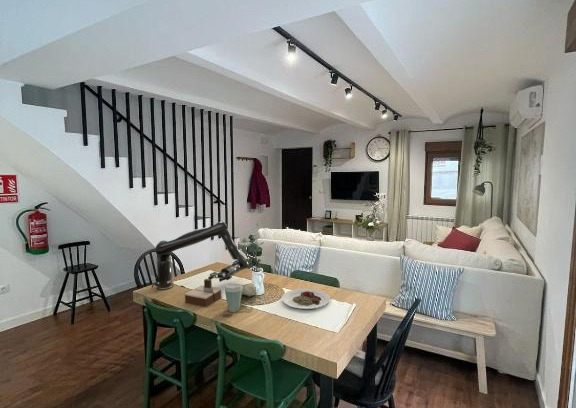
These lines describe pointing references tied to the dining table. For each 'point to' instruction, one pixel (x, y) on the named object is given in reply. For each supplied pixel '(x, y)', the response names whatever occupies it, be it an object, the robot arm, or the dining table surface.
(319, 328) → the dining table surface
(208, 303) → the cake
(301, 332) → the dining table surface
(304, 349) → the dining table surface
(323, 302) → the plated food
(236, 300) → the disposable coffee cup
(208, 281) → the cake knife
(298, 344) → the dining table surface
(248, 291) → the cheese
